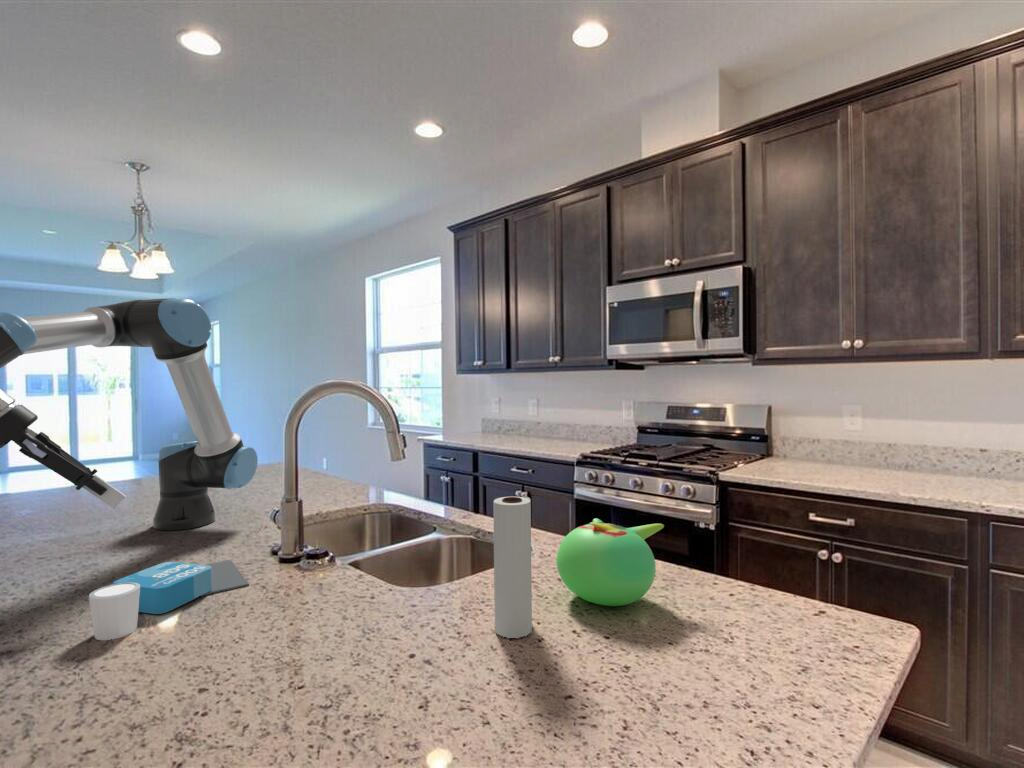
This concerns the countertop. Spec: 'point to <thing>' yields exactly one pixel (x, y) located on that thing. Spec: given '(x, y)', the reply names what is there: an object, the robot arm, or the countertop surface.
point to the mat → (226, 577)
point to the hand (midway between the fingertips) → (119, 502)
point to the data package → (170, 585)
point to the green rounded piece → (608, 562)
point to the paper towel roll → (512, 566)
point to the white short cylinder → (115, 610)
